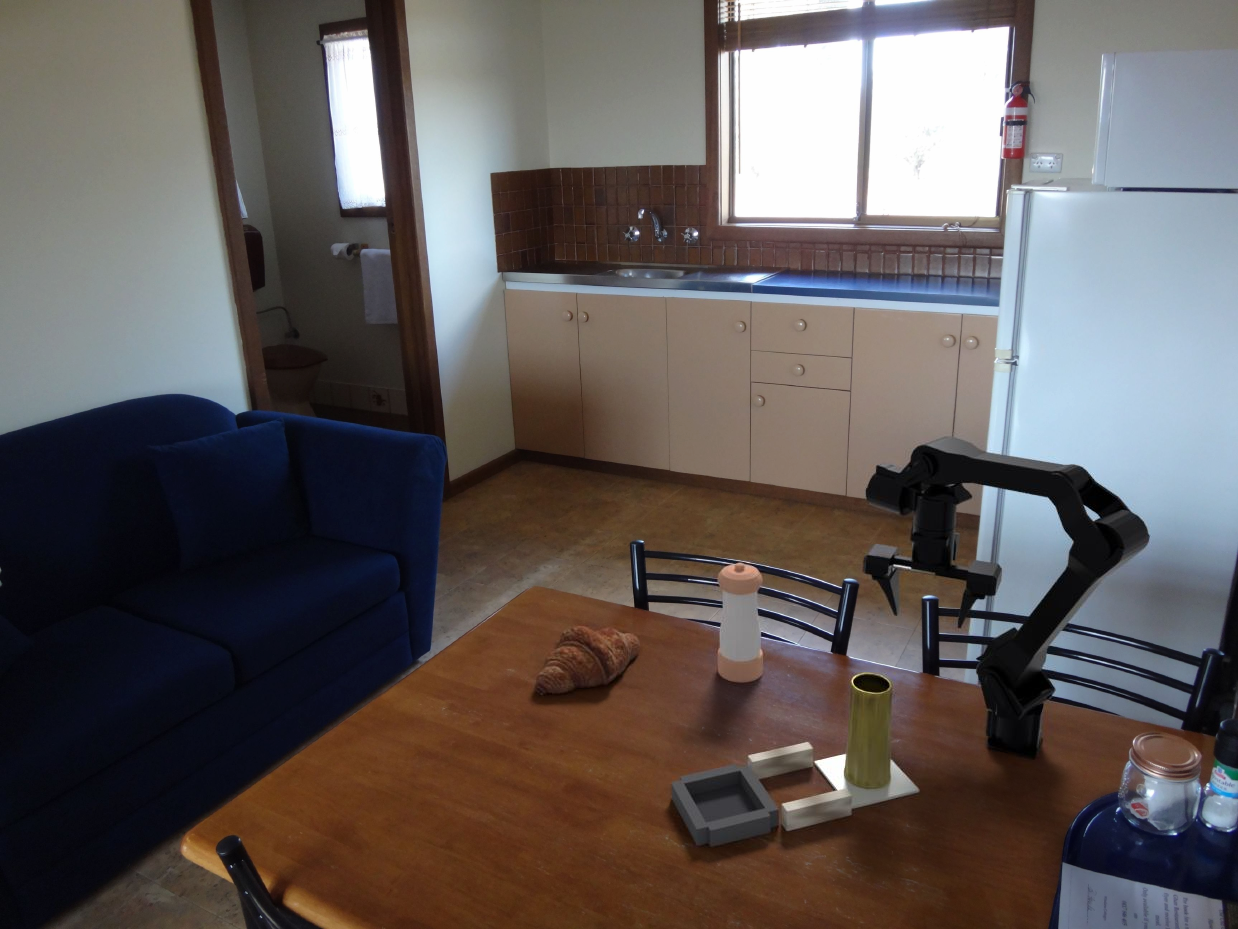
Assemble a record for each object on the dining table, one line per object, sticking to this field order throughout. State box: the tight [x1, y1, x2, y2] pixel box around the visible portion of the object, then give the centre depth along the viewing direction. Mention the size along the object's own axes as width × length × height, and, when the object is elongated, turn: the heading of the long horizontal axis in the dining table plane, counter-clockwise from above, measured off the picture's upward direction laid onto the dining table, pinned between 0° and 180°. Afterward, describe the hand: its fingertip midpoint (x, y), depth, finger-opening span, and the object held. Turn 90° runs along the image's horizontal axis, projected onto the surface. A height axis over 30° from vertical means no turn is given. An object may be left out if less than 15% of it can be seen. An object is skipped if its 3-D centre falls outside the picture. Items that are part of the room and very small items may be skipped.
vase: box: [844, 672, 893, 789], centre depth 125 cm, size 6×6×14 cm
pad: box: [813, 753, 920, 810], centre depth 128 cm, size 10×10×1 cm
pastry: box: [534, 625, 641, 695], centre depth 156 cm, size 17×15×8 cm
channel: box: [747, 741, 853, 832], centre depth 125 cm, size 9×12×3 cm
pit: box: [670, 763, 780, 848], centre depth 122 cm, size 11×11×2 cm
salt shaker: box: [717, 562, 764, 683], centre depth 152 cm, size 7×7×19 cm
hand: (927, 620), depth 141 cm, fingers open, 9 cm apart
